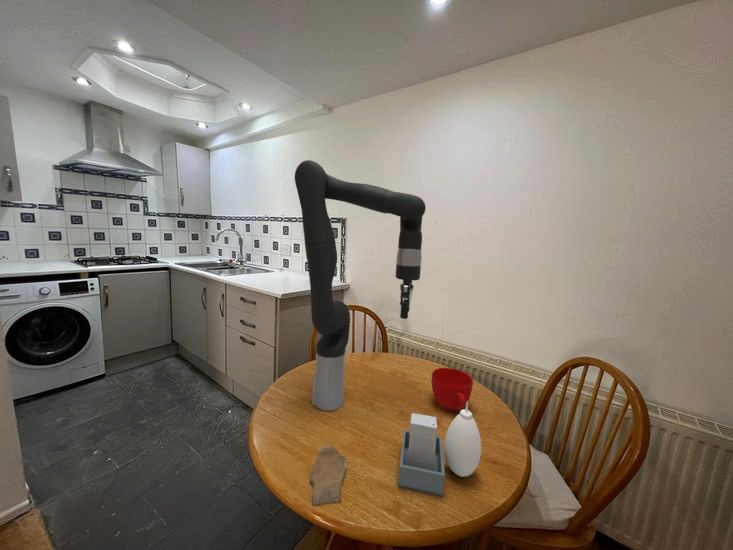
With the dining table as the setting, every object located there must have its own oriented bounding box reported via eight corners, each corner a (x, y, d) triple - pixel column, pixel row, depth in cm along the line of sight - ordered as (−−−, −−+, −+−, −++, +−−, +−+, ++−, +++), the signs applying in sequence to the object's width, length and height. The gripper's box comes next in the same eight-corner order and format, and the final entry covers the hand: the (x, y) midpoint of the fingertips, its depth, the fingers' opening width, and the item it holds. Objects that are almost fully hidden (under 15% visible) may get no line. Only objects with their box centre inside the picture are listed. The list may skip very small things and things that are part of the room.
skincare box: (433, 462, 68) (437, 416, 66) (433, 476, 64) (437, 428, 62) (407, 457, 69) (411, 412, 67) (406, 470, 65) (410, 423, 63)
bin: (398, 486, 61) (399, 466, 61) (402, 447, 73) (403, 429, 72) (442, 496, 59) (444, 475, 59) (439, 454, 71) (441, 436, 70)
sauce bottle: (484, 477, 65) (493, 405, 63) (462, 492, 61) (471, 416, 58) (457, 455, 71) (464, 388, 69) (435, 467, 67) (442, 397, 65)
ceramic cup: (438, 425, 83) (441, 393, 81) (425, 393, 99) (427, 366, 98) (482, 426, 83) (485, 395, 82) (461, 394, 100) (464, 368, 98)
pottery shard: (308, 457, 70) (310, 509, 56) (309, 447, 70) (311, 496, 56) (342, 453, 72) (352, 502, 58) (342, 443, 72) (352, 490, 57)
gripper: (420, 266, 79) (416, 322, 81) (421, 262, 93) (417, 310, 95) (393, 264, 80) (390, 319, 82) (398, 261, 94) (395, 308, 96)
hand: (404, 314), depth 89 cm, fingers open, 8 cm apart
